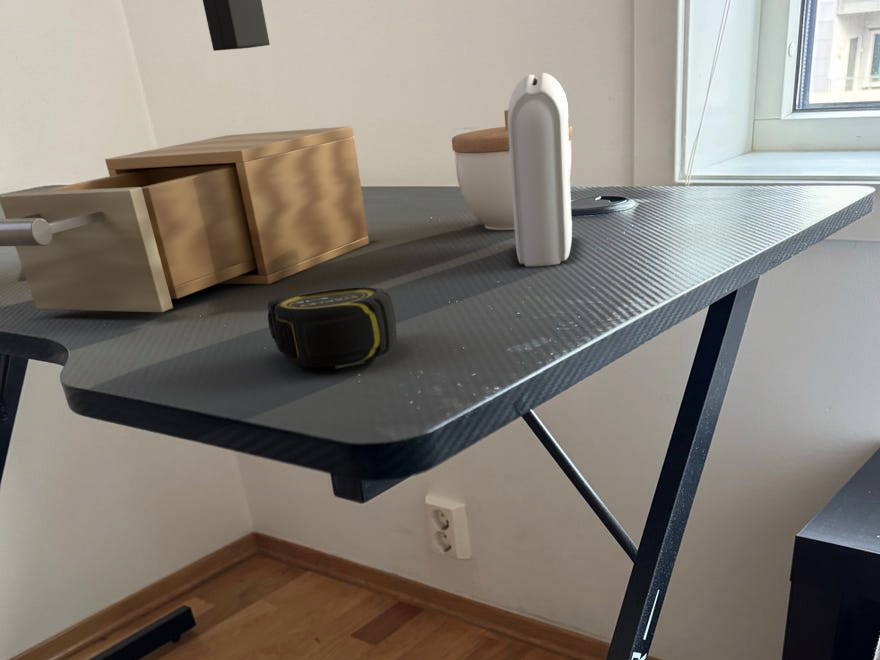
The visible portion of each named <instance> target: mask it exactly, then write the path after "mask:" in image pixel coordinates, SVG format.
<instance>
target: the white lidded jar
mask: <svg viewBox="0 0 880 660" xmlns="http://www.w3.org/2000/svg"><path fill="white" fill-rule="evenodd" d="M503 113H504V115H503V116H504V126H500V127H491V128H485V129H478V130H472V131H469V132H468V131H467V132H463V133H459V134H456V135H454V136H453V137H451V138H452V139H451V147H452V151H453V153H454V164H455V171H456V176H457V177H456V178H457V183H458V187H459V190H460V193H461V196H462V199H463V201H464V203H465V205H466V207H467V209H468V210H469V212H470V213H471V214H472V215H473V216H474V217H475V218H476V219H477V220H478V221H480V223H482V224H483V226H484V228H485V229H488V230H494V231H495V230H496V231H509V230H515V227H514V213H513V198H512V181H511V165H510V149H509V134H508V109H506V110H504V112H503ZM568 131H569V166H570V175H571V173H572V139H573V127H572V126H571V125H570V124H568Z"/></svg>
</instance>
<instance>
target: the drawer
mask: <svg viewBox="0 0 880 660" xmlns="http://www.w3.org/2000/svg"><path fill="white" fill-rule="evenodd" d="M0 206H1V209H2V212H3V214H4V217H5V218H0V247H15V249H16V252H17V255H18V259H19V261H20V265H21V268H22V270H23V273H24V276H25V279H26V281H27V285H28V288H29V291H30V293H31V295H32V296H31V297H32V299H33V303H34V305H35V309H37V310H46V311H47V310H48V311H49V310H50V311H51V310H54V311H86V312H87V311H89V312H127V313H128V312H131V313H133V312H136V313H164V312H167V311H169V310H171V309H173V308H174V306H173V302H172V300H177V299H180V298H183V297H186V296H188V295H191V294H194V293H197V292H199V291H202V290H204V289H208V288H209V287H212V286H215V285H217V284H218V283H220V282H223V281H226V280H228V279H231V278H234V277H236V276H239V275H241V274H244V273H247V272H249V271H252V270H255V269H257V263H256V258H255V253H254V249H253V244H252V239H251V234H250V230H249V225H248V220H247V215H246V211H245V206H244V201H243V196H242V192H241V187H240V182H239V177H238V173H237V168H236V163H230V164H213V165H195V166H178V167H161V168H146V169H141V170H137V171H132V172H127V173H123V174H118V175H113V176H110V175H109V176H105V177H100V178H96V179H95V178H94V179H91V180H86V181H82V182H76V183H73V184H72V183H71V184H67V185H62V186H58V187H52V188H48V189H43V190H40V191H39V190H38V191H28V192H27V191H26V192H10V193H4V194H0Z"/></svg>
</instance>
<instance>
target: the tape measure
mask: <svg viewBox="0 0 880 660" xmlns="http://www.w3.org/2000/svg"><path fill="white" fill-rule="evenodd" d="M267 311H268V314H267V322H268V327H269V332H270V335H271V338H272V339H273V340H274V343H275V346H276V348H277V350H278V351H279V352H280V353H281V354H282V357H283V359H284V360H285V361H286V362H287V363H289V364H290V365H294V366H297V367H302V368H330V367H334V368H335V370H336V369H342V368H347V367H352V366H358V365H363V364H366V361H369V360H371V359H375V358H379V357H380V356H383V355H385V354H386V353H388V352H390V351H391V350H392V349H393V348H394V347H395V344H396V342H397V322H396V314H395V308H394V305H393V301H392V297H391V295H390V293H389V292H388V291H387V290H386V289H384V288H380V287H369V286H368V287H366V286H355V287H354V286H353V287H341V288H331V289H323V290H319V291H318V290H317V291H313V292H312V291H311V292H309V293H304V294H299V295H294V296H288V297H281V298H276V299H273V300H269V301H268V303H267Z"/></svg>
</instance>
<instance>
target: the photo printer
mask: <svg viewBox="0 0 880 660" xmlns="http://www.w3.org/2000/svg"><path fill="white" fill-rule="evenodd" d="M537 76H538V77H536V76H535V75H534V74H527V75H526V76H524V77H523V78H522V79H521V80H519V82H518V83H517V85H516V86H515V87H514V90H513V91H512V93H511V96H510V99H509V102H508V109H507V110H508V134H509V149H510V165H511V181H512V198H513V213H514V227H515V229H514V239H515V250H516V256H517V260H518V262H519V264H520V265H524V266H525V267H530V268H531V267H533V268H534V267H535V268H536V267H538V268H539V267H550V266H556V265H560V264H561V262H564V261H567V260H568V258H569V256H570V253H571V248H572V241H573V240H572V239H573V219H572V198H571V196H572V195H571V174H570V166H569V131H568V125H569V117H570V116H569V105H568V104H569V103H568V99H567V95H566V92H565V90H564V88H563V87H562V85H561V83H560V82H559V81H558V80H557V78H555V77H554V76H553V75H551V74H550V73H547V72H541V73H540V74H539V75H537Z"/></svg>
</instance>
